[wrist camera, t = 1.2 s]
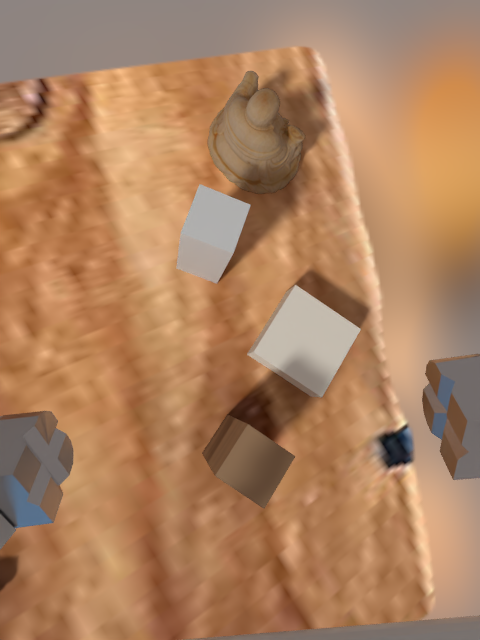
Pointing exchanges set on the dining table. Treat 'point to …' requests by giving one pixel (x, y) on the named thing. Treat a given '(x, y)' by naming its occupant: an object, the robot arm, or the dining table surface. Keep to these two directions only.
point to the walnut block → (247, 460)
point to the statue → (255, 140)
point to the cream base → (304, 342)
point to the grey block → (210, 233)
